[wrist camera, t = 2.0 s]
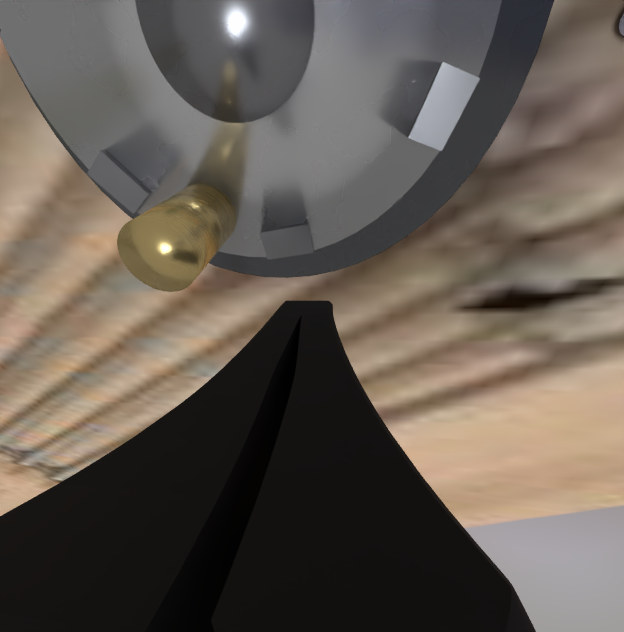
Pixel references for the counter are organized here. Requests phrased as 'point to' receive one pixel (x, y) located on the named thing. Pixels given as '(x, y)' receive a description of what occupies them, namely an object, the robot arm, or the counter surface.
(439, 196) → the dark grey flat disc
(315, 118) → the lugged hub disc
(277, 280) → the counter surface
